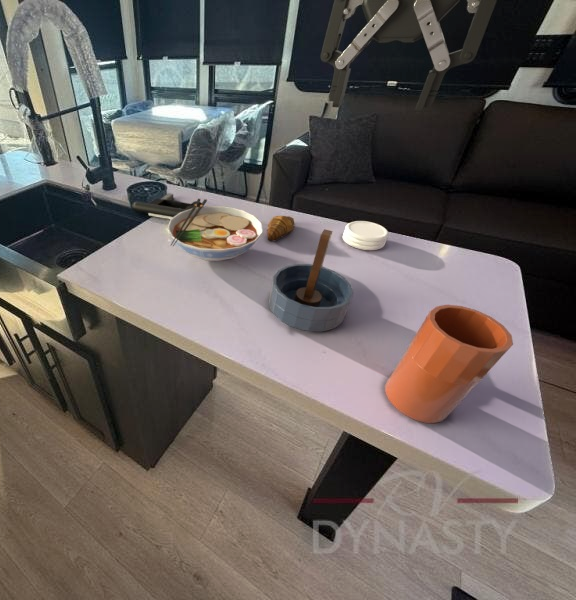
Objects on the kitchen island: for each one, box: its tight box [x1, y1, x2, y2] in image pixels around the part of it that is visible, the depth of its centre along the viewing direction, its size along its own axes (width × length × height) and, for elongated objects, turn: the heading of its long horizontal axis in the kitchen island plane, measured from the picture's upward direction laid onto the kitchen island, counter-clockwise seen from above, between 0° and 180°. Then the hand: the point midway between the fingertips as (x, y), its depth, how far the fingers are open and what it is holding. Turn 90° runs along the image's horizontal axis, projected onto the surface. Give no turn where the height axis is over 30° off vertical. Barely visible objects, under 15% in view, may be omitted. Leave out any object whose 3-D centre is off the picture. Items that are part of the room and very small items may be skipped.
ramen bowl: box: [167, 198, 264, 262], centre depth 81 cm, size 25×23×8 cm
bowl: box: [268, 263, 354, 332], centre depth 64 cm, size 14×14×6 cm
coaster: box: [342, 220, 390, 251], centre depth 84 cm, size 10×10×4 cm
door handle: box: [131, 192, 202, 220], centre depth 103 cm, size 3×20×16 cm
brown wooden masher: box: [294, 228, 333, 307], centre depth 61 cm, size 5×5×16 cm
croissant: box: [266, 215, 296, 242], centre depth 88 cm, size 14×7×5 cm, turn 142°
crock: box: [384, 304, 514, 424], centre depth 45 cm, size 8×8×15 cm
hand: (375, 109), depth 38 cm, fingers open, 8 cm apart
